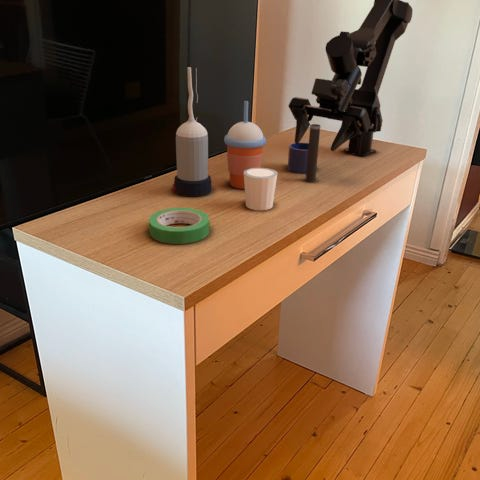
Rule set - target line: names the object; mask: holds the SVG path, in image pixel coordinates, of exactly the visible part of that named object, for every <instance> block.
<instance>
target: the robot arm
mask: <svg viewBox="0 0 480 480" xmlns="http://www.w3.org/2000/svg"><path fill="white" fill-rule="evenodd" d="M413 12H414V11H413V7H412V5H410V3H409V2H407V1H403V0H374V1H373V6H372V7H371V9H370V10H369V12H368V13H367V15H366V17H365V19H364V20H363V22H362V23H361V25H360V26H359V28H358V29H357V30H354V31H352V32H350V31H340V32H339V35H336V36H334V37H332V38H331V39H330V40H328V41H327V42H326V44H325V54H326V56H327V59H328V63H329V64H328V65H329V67H330V71H332V72H333V74H334V75H333V77H332V79H325V78H315V79H314V82H313V86H312V89H311V93H310V94H311V95H312V96H313V95H314V96H315V97H316V98H315V101H316V104H319V105H318V106H314V105H312V104H311V102H310V100H309V98H304V97H299V96H295V97H292V98H291V99H290V101H289V103H288V105H287V106H288V109H289V110H290V112H291V114H292V116H293V118H294V120H296V121H295V122H296V123H295V134H294V143H296V144H298V143H299V142H301V140H302V139H303V137H304V136H305V134H306V132H307V131H308V129H309V128H310V125H311V123H310V122H311V121H312V120H313V118H314V117H319V118H324V119H328V120H333V121H338V122H339V121H340V122H341V124H340V128H339V129H338V131H337V133H336V135H335V137H334V139H333V141H332V143H331V146H330V151H331V152H334V151H336V150H337V149H338V148H340V147H341V146H343V145H344V144H345V143H346V142H348V147H347V148H344V149H343V152H344V153H348V154H351V155H355V156H360V157H366V156H369V155H371V154H374V153H376V152H377V150H376V149H373V148H372V146H373V140H374V133H377V132H381V131H382V127H383V116H382V112H381V102H380V98H379V92H380V89H381V86H382V83H383V80H384V77H385V74H386V72H387V71H386V70H387V67H388V65H389V62H390V59H391V55H392V52H393V50H394V46H395V43H396V41H397V40H398V39H399V38H400V37H402V36H403V35H404V34H405V33H406V30H407V28H408V25H409V24H410V23H411V21H412V18H413ZM360 67H364V68H366V69H365V73H364V76H363V74H362V73H363V72H362V69H361V68H360ZM362 76H363V79H362ZM358 85H360V86H359V88H358V89H357V86H358Z"/></svg>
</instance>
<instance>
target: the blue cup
mask: <svg viewBox="0 0 480 480" xmlns="http://www.w3.org/2000/svg"><path fill="white" fill-rule="evenodd" d="M308 147H309V142H303V141H302V142H301V141H300V142H299V143H298V144H296V143H295V142H293V143H290V144H289V146H288V157H287V170H288V171H290V172H292V173H296V174H297V173H298V174H306V171H307V159H308Z"/></svg>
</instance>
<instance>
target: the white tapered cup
mask: <svg viewBox="0 0 480 480" xmlns="http://www.w3.org/2000/svg"><path fill="white" fill-rule="evenodd" d="M277 179H278V172H277V170H275V169H272V168H267V167H261V168H250V169H247V170H245V171H244V186H245V189H244V198H245V200H244V201H245V207H246V208H248V209H250V210H254V211H267V210H270V209H272V208H273V207H274V200H275V194H276V187H277V181H278V180H277Z"/></svg>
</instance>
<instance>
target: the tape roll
mask: <svg viewBox="0 0 480 480" xmlns="http://www.w3.org/2000/svg"><path fill="white" fill-rule="evenodd" d="M175 224H186V226H170V225H175ZM187 225H188V226H187ZM148 230H149V235H150V237H151V238H152V239H154V240H155V241H157V242H160V243H164V244H169V245H186V244H193V243H195V242H199V241H201V240H204V239H205V238H206V237H208V235H209V234H210V217H209V215H208V214H207V213H206V212H204V211H202V210H200V209H196V208H192V207H171V208H165V209H162V210H159V211H156V212H154V213H153V214H151V215H150V216H149V219H148Z"/></svg>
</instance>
